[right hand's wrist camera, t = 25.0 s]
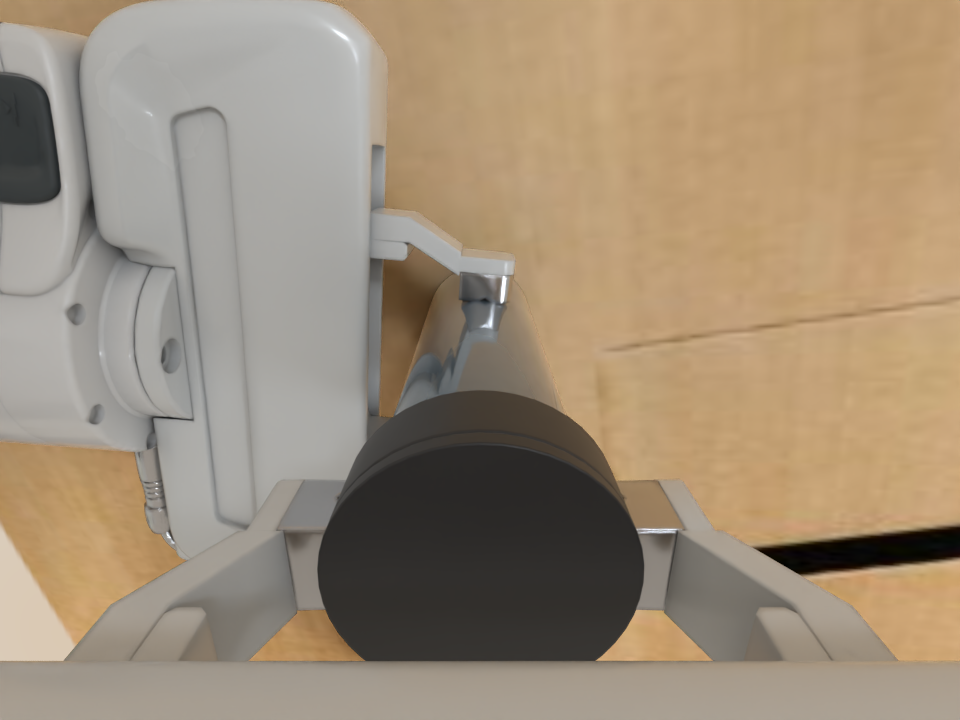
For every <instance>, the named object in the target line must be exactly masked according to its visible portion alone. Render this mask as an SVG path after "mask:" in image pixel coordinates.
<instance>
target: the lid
mask: <svg viewBox="0 0 960 720" xmlns="http://www.w3.org/2000/svg"><path fill="white" fill-rule="evenodd" d="M317 573H318V586H319V590H320V594H321V598H322V602H323V605H324V607H325V610H326V612H327V614H328V617H329V619H330V620H331V622H332V624H333V625H334V627H335V629H336V630H337V632H338V633H339V635H340V636H341V637H342V638H343V639H344V641H345V642H346V643H347V644H348V645H349V646H350V647H351V648H352V649H353V650H354V651H355V652H356V653H357V654H358V655H359V656H360V657H361V658H363V659H364V660H365V661H596V660H597V659H598V658H600V657H601V656H602V655H603V654H604V653H605V652H606V651H607V650H608V649H609V648H610V647H611V646H612V645H613V644H614V643H615V642H616V641H617V640H618V638H619V637H620V636H621V635H622V633H623V632H624V631H625V629H626V628H627V626H628V624H629V623H630V621H631V619H632V617H633V616H634V613H635V611H636V608H637V606H638V603H639V601H640V597H641V592H642V588H643V583H644V557H643V549H642V545H641V542H640V538H639V535H638V532H637V529H636V527H635V525H634V522H633V520H632V518H631V515H630V513H629V511H628V508H627V506H626V504H625V501H624V499H623V497H622V494H621V492H620V490H619V487H618V485H617V483H616V480H615V478H614V476H613V473H612V471H611V469H610V467H609V465H608V462H607V460H606V458H605V456H604V454H603V453H602V451H601V450H600V448H599V447H598V445H597V444H596V443H595V441H594V440H593V439H592V438H591V437H590V436H589V434H588V433H587V432H586V431H585V430H584V429H583V428H582V427H581V426H579V425H578V424H577V423H576V422H574V421H573V420H572V419H571V418H569V417H568V416H567V415H565V414H563V413H562V412H560V411H558V410H557V409H555V408H553V407H551V406H549V405H546V404H544V403H542V402H540V401H537V400H535V399H531V398H528V397H525V396H521V395H518V394H513V393H507V392H501V391H487V390H473V391H460V392H454V393H449V394H444V395H440V396H437V397H434V398H430V399H427V400H424V401H421V402H419V403H417V404H415V405H413V406H411V407H409V408H407V409H405V410H403V411H401V412H400V413H398V414H397V415H395V416H394V417H392V418H391V419H389V420H388V421H387V422H386V423H384V424H383V425H382V426H381V427H380V428H379V429H377V430H376V431H375V433H374V434H373V435H372V436H371V437H370V438H369V439H368V440H367V442H366V443H365V444H364V446H363V447H362V449H361V450H360V452H359V453H358V455H357V457H356V459H355V461H354V463H353V465H352V468H351V470H350V472H349V474H348V477H347V479H346V482H345V484H344V486H343V489H342V491H341V494H340V496H339V498H338V501H337V503H336V506H335V508H334V510H333V513H332V515H331V518H330V520H329V523H328V525H327V527H326V530H325V532H324V534H323V538H322V541H321V545H320V549H319V554H318V565H317Z"/></svg>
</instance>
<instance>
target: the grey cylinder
mask: <svg viewBox="0 0 960 720" xmlns="http://www.w3.org/2000/svg"><path fill="white" fill-rule="evenodd" d="M459 284H460V274H459V276H458V275H457V274H455V273H454V274H452V275H450V276H449V277H448V278H447V279H445V280H444V281H443V282H442V284H441V285H440V286H439V287H438V289H437V290H436V292H435V294H434V297H433V299H432V302H431V305H430V308H429V311H428V314H427V317H426V320H425V323H424V326H423V329H422V332H421V335H420V338H419V341H418V344H417V347H416V350H415V353H414V356H413V359H412V362H411V365H410V368H409V371H408V374H407V377H406V380H405V383H404V386H403V389H402V392H401V395H400V398H399V401H398V404H397V407H396V410H395V413H394V416H395V415H397V414H398V413H400V412H401V411H403V410H405V409H407V408H409V407H411V406H413V405H415V404H417V403H419V402H421V401H424V400H427V399H430V398H434V397H437V396H440V395H444V394H449V393H454V392H460V391H473V390H487V391H501V392H507V393H513V394H518V395H521V396H525V397H528V398H531V399H535V400H537V401H540V402H542V403H544V404H546V405H549V406H551V407H553V408H555V409H557V410H558V411H560V412H562V413H563V414H565V415H566V412H565V409H564V406H563V403H562V400H561V398H560V395H559V392H558V389H557V386H556V383H555V380H554V377H553V375H552V372H551V369H550V366H549V363H548V360H547V357H546V354H545V352H544V349H543V346H542V343H541V340H540V337H539V334H538V331H537V329H536V326H535V323H534V320H533V317H532V314H531V311H530V308H529V306H528V303H527V300H526V297H525V295H524V293H523V291H522V289H521V288H520V286H519V285H518V284H517V283H516V282H515V281H514V280H513V285H512V292H511V299H510V303H506V304H497V303H493V302H490V301H488V300H487V299H486V298H484V299H482V300H480V301H464V300H459ZM394 416H393V417H394Z"/></svg>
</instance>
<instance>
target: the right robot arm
mask: <svg viewBox="0 0 960 720" xmlns="http://www.w3.org/2000/svg"><path fill="white" fill-rule="evenodd" d="M345 482H346V480H316V479H307V480H305V479H282V480H280V481H278V482H277V483H276V485H275V486H274V488H273V489H272V491H271V493H270V494H269V496H268V497H267V499H266V500H265V502H264V503H263V505H262V507H261V508H260V510H259V511H258V513H257V514H256V516H255V517H254V519H253V521H252V522H251V524H250V525H249V527H248V528H247V530H246V531H237V532H235V533H234V534H232V535H230V536H228V537H227V538H225V539H223V540H221V541H220V542H218V543H216V544H215V545H213V546H211V547H209V548H208V549H206V550H204V551H203V552H201V553H199V554H197V555H196V556H194V557H192V558H191V559H189V560H187V561H185V562H184V563H182V564H180V565H178V566H177V567H175V568H173V569H172V570H170V571H168V572H166V573H165V574H163V575H161V576H160V577H158V578H156V579H154V580H153V581H151V582H149V583H147V584H146V585H144V586H142V587H141V588H139V589H137V590H135V591H134V592H132V593H130V594H129V595H127V596H125V597H123V598H122V599H120V600H118V601H116V602H115V603H113V604H111V605H110V606H109V607H108V608H107V610H106V611H105V612H104V613H103V614H102V616H101V617H100V618H99V619H98V620H97V622H96V623H95V624H94V625H93V626H92V628H91V629H90V630H89V631H88V632H87V633H86V635H85V636H84V637H83V638H82V639H81V641H80V642H79V643H78V644H77V645H76V647H75V648H74V649H73V650H72V651H71V652H70V654H69V655H68V656H67V657H66V658H65V660H64V661H0V720H960V661H898V660H897V659H896V657H895V656H894V655H893V654H892V653H891V651H890V650H889V649H888V648H887V647H886V645H885V644H884V643H883V642H882V641H881V639H880V638H879V637H878V636H877V635H876V633H875V632H874V631H873V630H872V629H871V628H870V626H869V625H868V624H867V623H866V622H865V620H864V619H863V618H862V617H861V616H860V614H859V613H858V612H857V611H856V610H855V608H854V607H853V606H852V605H850V604H848V603H847V602H845V601H843V600H841V599H840V598H838V597H836V596H834V595H833V594H831V593H829V592H828V591H826V590H824V589H822V588H821V587H819V586H817V585H816V584H814V583H812V582H810V581H809V580H807V579H805V578H804V577H802V576H800V575H798V574H797V573H795V572H793V571H791V570H790V569H788V568H786V567H785V566H783V565H781V564H779V563H778V562H776V561H774V560H773V559H771V558H769V557H767V556H766V555H764V554H762V553H761V552H759V551H757V550H755V549H754V548H752V547H750V546H748V545H747V544H745V543H743V542H742V541H740V540H738V539H736V538H735V537H733V536H731V535H730V534H728V533H726V532H724V531H715V529H714V528H713V526H712V525H711V523H710V522H709V520H708V519H707V517H706V516H705V514H704V513H703V511H702V509H701V508H700V506H699V505H698V503H697V502H696V500H695V499H694V497H693V496H692V494H691V493H690V491H689V490H688V488H687V487H686V485H685V483H684V482H683V481H682V480H680V479H660V480H634V481H616V483H617V485H618V487H619V490H620V492H621V494H622V497H623V499H624V501H625V504H626V506H627V508H628V511H629V513H630V515H631V518H632V520H633V522H634V525H635V527H636V529H637V532H638V535H639V538H640V542H641V545H642V549H643V557H644V583H643V588H642V592H641V597H640V601H639V603H638V606H637V608H636V610H664V613H665V614H666V615H667V616H668V617H669V618H670V619H671V620H672V621H673V622H674V623H675V624H676V625H677V626H678V627H679V628H680V629H681V630H682V631H683V632H684V633H685V634H686V635H687V636H689V637H690V638H691V639H692V640H693V641H694V642H695V643H696V644H697V645H698V646H699V647H700V648H701V649H702V650H703V651H704V652H705V653H706V654H707V655H708V656H709V657H710V658H711V659H712V660H713V661H249V660H250V659H251V658H252V657H253V656H254V655H255V654H256V653H257V652H258V651H259V650H260V649H261V648H262V647H263V646H264V645H265V644H266V643H267V642H268V641H269V640H270V639H271V638H272V637H273V636H274V635H275V634H276V633H277V632H278V631H279V630H280V629H281V628H282V627H283V626H284V625H285V624H286V623H287V622H288V621H289V620H290V619H291V618H292V617H293V616H295V615H296V614H297V610H325V607H324V605H323V602H322V598H321V594H320V590H319V586H318V573H317V565H318V554H319V549H320V545H321V541H322V538H323V534H324V532H325V530H326V527H327V525H328V523H329V520H330V518H331V515H332V513H333V510H334V508H335V506H336V503H337V501H338V498H339V496H340V494H341V491H342V489H343V486H344V484H345Z"/></svg>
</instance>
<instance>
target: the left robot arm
mask: <svg viewBox="0 0 960 720" xmlns="http://www.w3.org/2000/svg"><path fill="white" fill-rule="evenodd" d="M387 103H388V61H387V57H386V55H385V53H384V51H383V50H382V48H381V47H380V45H379V44H378V43H377V41H376V40H375V38H374V37H373V36H372V34H371V33H370V32H369V31H368V30H367V28H366V27H365V26H364V25H363V24H362V23H361V22H360V21H359V20H358V19H357V18H356V17H355V16H354V15H353V14H352V13H350V12H349V11H347V10H346V9H344V8H342V7H340V6H338V5H335V4H333V3H329V2H325V1H320V0H153V1H146V2H141V3H137V4H133V5H130V6H127V7H124V8H121V9H119V10H117V11H115V12H113V13H112V14H110V15H109V16H107V17H106V18H104V19H103V20H102V21H101V22H100V23H99V24H98V25H97V26H96V27H95V28H94V29H93V31H92V32H91V34H90V35H89V37H88V36H85V35H81V34H77V33H72V32H67V31H62V30H57V29H53V28H47V27H40V26H33V25H26V24H17V23H6V22H0V442H9V443H22V444H35V445H48V446H60V447H74V448H87V449H100V450H112V451H125V452H134V454H135V460H136V465H137V470H138V474H139V478H140V481H141V483H142V486H143V489H144V494H145V500H146V502H145V505H144V510H145V517H146V521H147V523H148V526H149V528H150V529H151V531H152V532H153V533H155V534H161V535H162V537H163V539H164V540H165V541H166V542H167V544H168V545H170V546H171V547H172V548H173V549H174V550H176V551H177V554H178V556H179V557H180V558H182V559H185V560H189V559H191V558H192V557H194V556H196V555H197V554H199V553H201V552H203V551H204V550H206V549H208V548H209V547H211V546H213V545H215V544H216V543H218V542H220V541H221V540H223V539H225V538H227V537H228V536H230V535H232V534H234V533H235V532H237V531H246V530H247V528H248V527H249V525H250V524H251V522H252V521H253V519H254V517H255V516H256V514H257V513H258V511H259V510H260V508H261V507H262V505H263V503H264V502H265V500H266V499H267V497H268V496H269V494H270V493H271V491H272V489H273V488H274V486H275V485H276V483H277V482H278V481H280V480H282V479H305V480H307V479H316V480H346V479H347V477H348V474H349V472H350V470H351V468H352V465H353V463H354V461H355V459H356V457H357V455H358V453H359V452H360V450H361V449H362V447H363V446H364V444H365V443H366V442H367V440H368V439H369V438H370V437H371V436H372V435H373V434H374V433H375V431H376V430H377V429H379V428H380V427H381V426H382V425H383V424H384V423H386V422H387V421H388V420H389V419H391V417H381V416H380V383H381V343H382V303H383V263H384V259H387V260H399V261H404V260H405V259H406V258H407V257H408V255H409V254H410V253H411V251H412V250H413V249H414V247H416V248H418V249H419V250H421V251H422V252H424V253H425V254H427V255H428V256H430V257H431V258H433V259H434V260H436V261H437V262H439V263H440V264H442V265H443V266H445V267H446V268H448V269H449V270H451V271H452V272H454V273H455V274H457V275H458V276H459V274H460V284H459V300H464V301H480V300H482V299H484V298H486V299H487V300H488V301H490V302H493V303H497V304H506V303H510V299H511V292H512V285H513V277H514V268H515V261H516V260H515V257H514V255H513V254H510V253H507V252H501V251H490V250H480V249H469V248H463V244H462V243H460V242H459V241H458V240H456V239H455V238H454V237H452V236H451V235H449V234H448V233H447V232H445V231H444V230H442V229H441V228H440V227H438V226H437V225H435V224H434V223H433V222H431V221H430V220H429V219H427V218H426V217H424V216H423V215H422V214H420V213H419V212H417V211H411V210H400V209H390V208H385V183H386V143H387Z"/></svg>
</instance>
